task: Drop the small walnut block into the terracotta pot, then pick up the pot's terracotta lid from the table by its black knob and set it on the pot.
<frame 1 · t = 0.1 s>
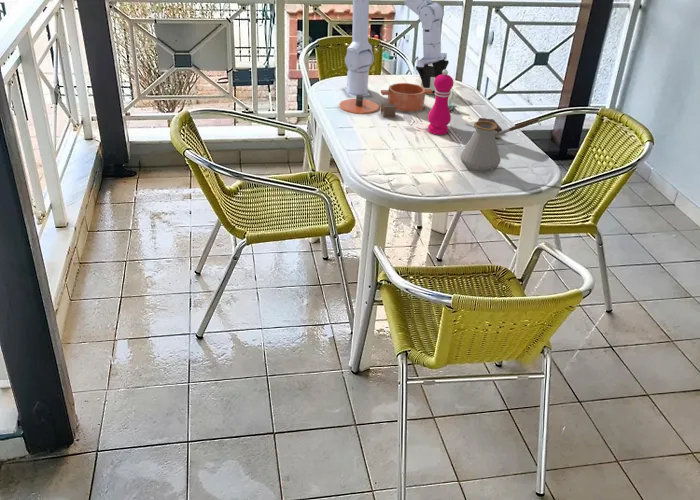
hand: (432, 85, 225), 11 cm above the table, tool pointing down, fingers open, 7 cm apart
lid: (359, 106, 232), point 1 cm above the table
spread jar: (435, 92, 253), on the table
coffee pot: (495, 167, 195), on the table
pot: (405, 106, 237), on the table
pepper mill: (437, 131, 218), on the table
pacifier: (445, 109, 237), on the table
block: (387, 116, 227), on the table
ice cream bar: (490, 131, 221), on the table
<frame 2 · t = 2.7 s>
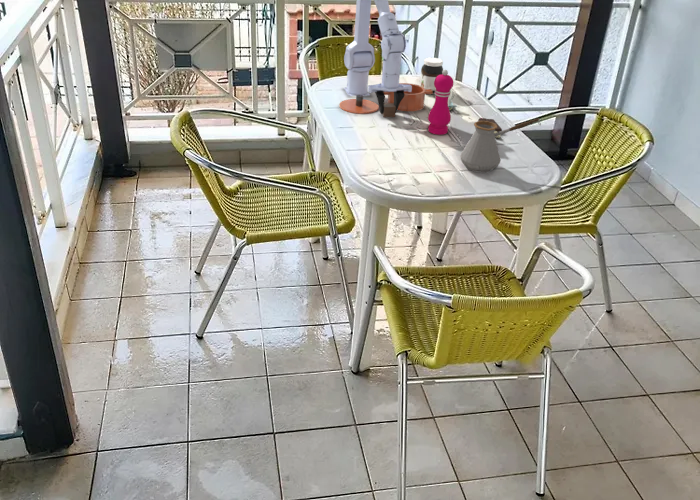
hand: (387, 112, 227), 1 cm above the table, tool pointing down, fingers closed on block, 4 cm apart
block: (387, 116, 227), on the table, touching gripper
everything else where it was.
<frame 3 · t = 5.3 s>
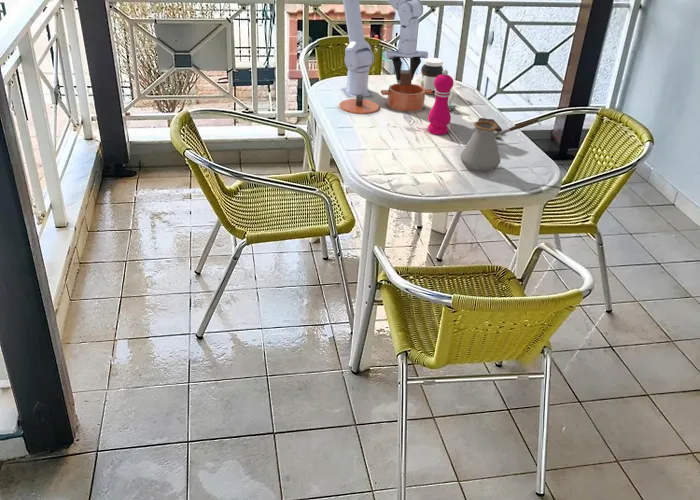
hand: (404, 79, 229), 10 cm above the table, tool pointing down, fingers closed on block, 4 cm apart
block: (403, 83, 230), point 9 cm above the table, touching gripper
everything else where it was.
when the fingers open (4 cm above the table, at t = 7.9 s): block drops 3 cm, resting on pot.
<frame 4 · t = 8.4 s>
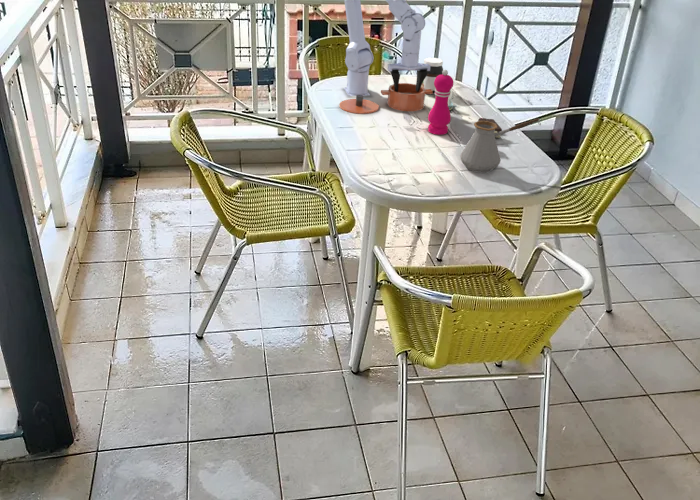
hand: (406, 91, 234), 6 cm above the table, tool pointing down, fingers open, 7 cm apart
block: (405, 105, 237), resting on pot
everything else where it was.
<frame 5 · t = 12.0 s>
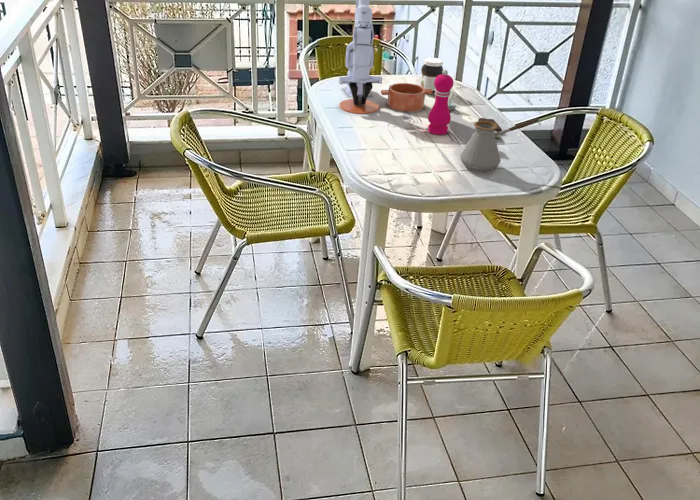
hand: (359, 104, 232), 2 cm above the table, tool pointing down, fingers closed on lid, 2 cm apart
lid: (359, 106, 232), point 1 cm above the table, touching gripper
everything else where it was.
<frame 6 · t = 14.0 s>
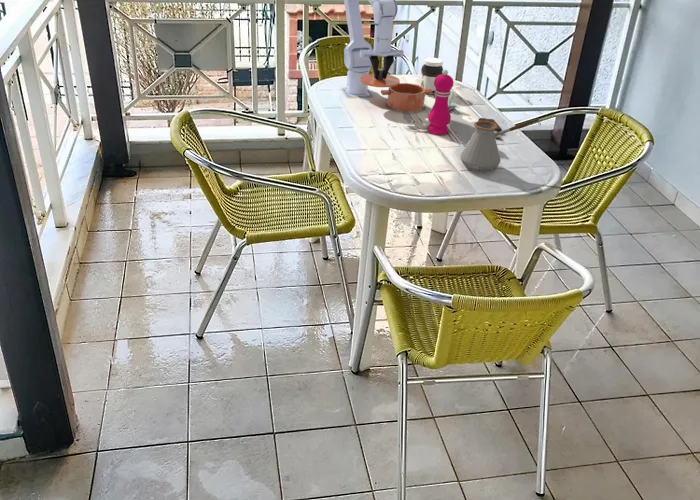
hand: (379, 78, 229), 10 cm above the table, tool pointing down, fingers closed on lid, 2 cm apart
lid: (379, 81, 230), point 9 cm above the table, touching gripper
everything else where it was.
when the fingers open (7 cm above the table, at t = 16.3 s): lid stays where it is, resting on pot.
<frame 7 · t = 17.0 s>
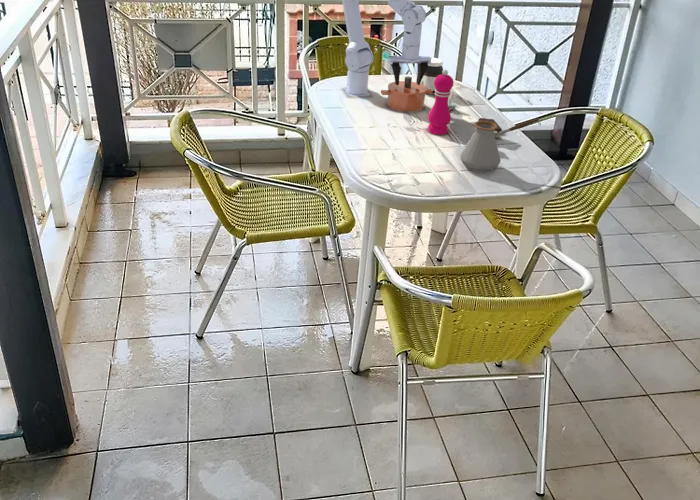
hand: (407, 84, 233), 8 cm above the table, tool pointing down, fingers open, 7 cm apart
lid: (407, 88, 234), point 6 cm above the table, touching pot
everything else where it was.
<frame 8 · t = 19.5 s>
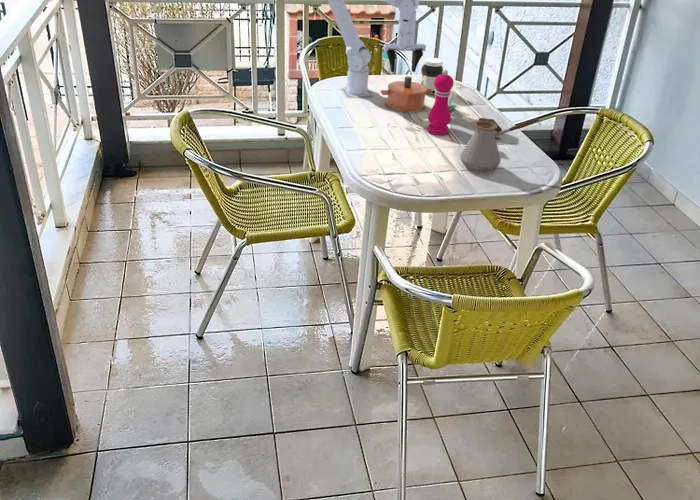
hand: (402, 71, 237), 10 cm above the table, tool pointing down, fingers open, 7 cm apart
nothing on the table moved.
at the end: block inside the target area in the pot (0.0 cm from its centre), point 0.4 cm above the pot's base; lid 0.1 cm off-centre on the pot, point 6.4 cm above the pot's base; lid tilted 0° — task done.
